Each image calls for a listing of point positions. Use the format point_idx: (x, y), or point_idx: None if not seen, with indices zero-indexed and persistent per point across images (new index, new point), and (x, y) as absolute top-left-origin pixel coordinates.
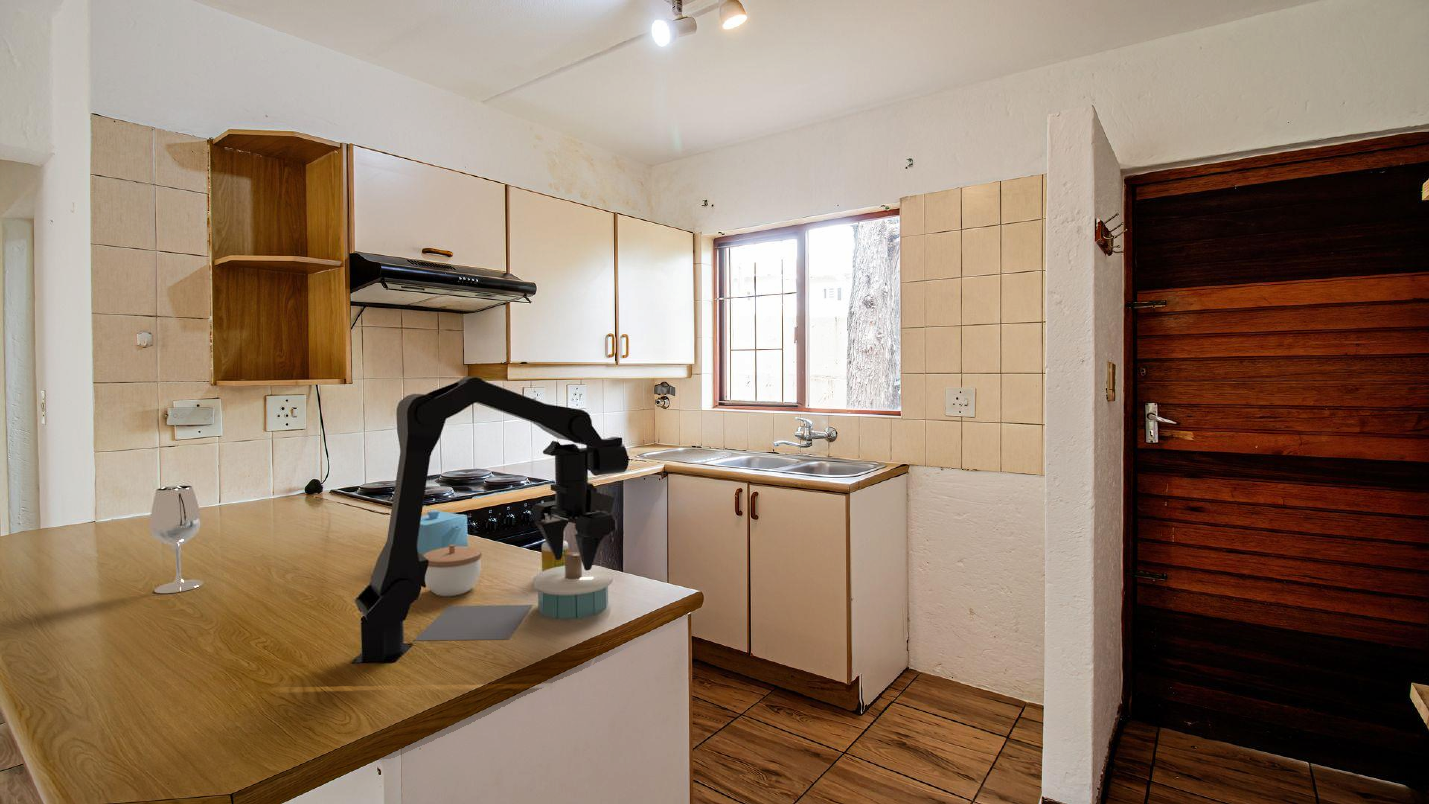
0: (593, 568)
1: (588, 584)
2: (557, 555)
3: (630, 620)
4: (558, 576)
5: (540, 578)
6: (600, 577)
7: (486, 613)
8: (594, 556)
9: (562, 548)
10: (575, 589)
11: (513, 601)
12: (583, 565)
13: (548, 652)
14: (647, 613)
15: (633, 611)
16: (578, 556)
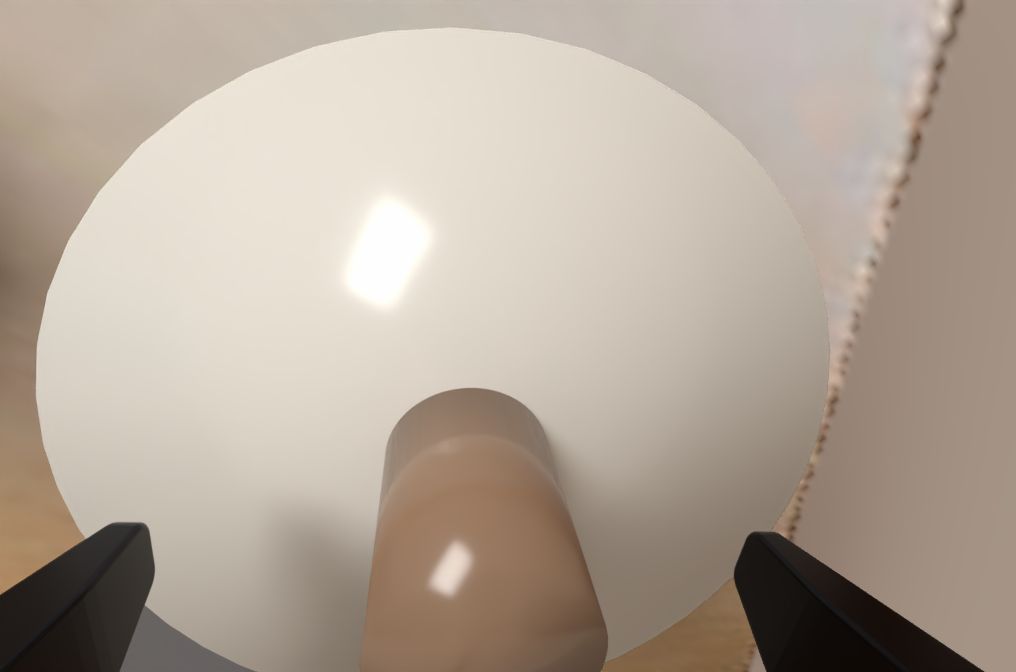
0: (425, 159)
1: (737, 500)
2: (130, 621)
3: (874, 252)
4: (357, 534)
5: (286, 637)
6: (717, 331)
7: (185, 660)
8: (934, 650)
9: (57, 635)
10: (707, 593)
11: (44, 480)
12: (761, 641)
13: (730, 643)
14: (926, 100)
15: (824, 131)
16: (603, 644)
